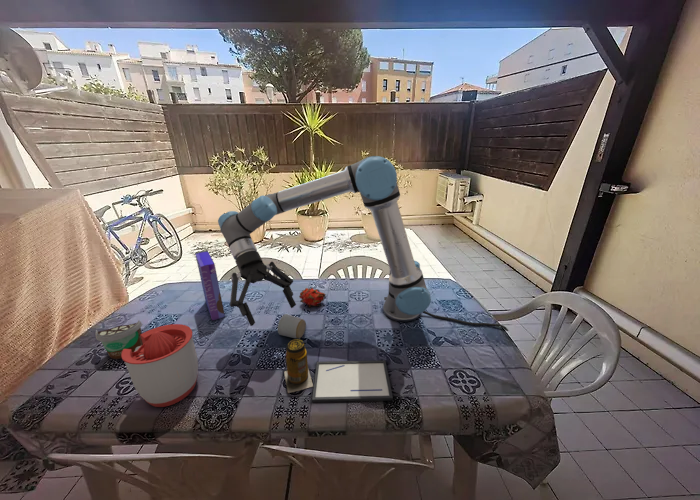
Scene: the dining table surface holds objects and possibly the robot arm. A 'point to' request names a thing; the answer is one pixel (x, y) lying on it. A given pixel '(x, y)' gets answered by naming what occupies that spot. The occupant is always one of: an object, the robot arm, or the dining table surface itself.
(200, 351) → the dining table surface
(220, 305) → the cereal box
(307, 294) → the dragon fruit
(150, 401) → the citrus juicer
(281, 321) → the ceramic mug
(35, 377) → the dining table surface
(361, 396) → the whiteboard
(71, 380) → the dining table surface
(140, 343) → the food container
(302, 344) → the condiment
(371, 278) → the dining table surface
